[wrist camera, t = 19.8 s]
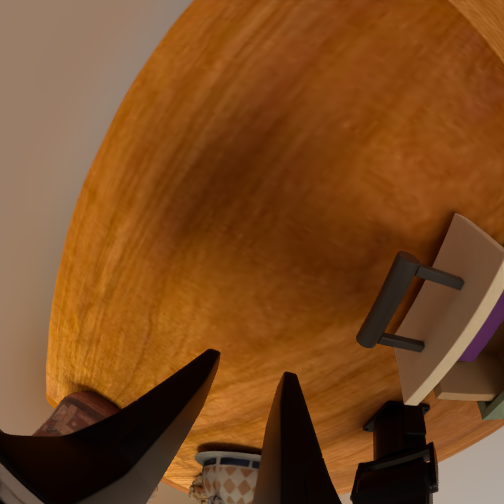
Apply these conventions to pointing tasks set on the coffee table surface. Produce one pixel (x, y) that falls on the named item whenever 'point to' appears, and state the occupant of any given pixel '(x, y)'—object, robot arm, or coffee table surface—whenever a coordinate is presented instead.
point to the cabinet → (492, 408)
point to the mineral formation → (198, 491)
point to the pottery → (76, 414)
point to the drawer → (444, 318)
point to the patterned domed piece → (229, 476)
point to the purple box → (485, 331)
